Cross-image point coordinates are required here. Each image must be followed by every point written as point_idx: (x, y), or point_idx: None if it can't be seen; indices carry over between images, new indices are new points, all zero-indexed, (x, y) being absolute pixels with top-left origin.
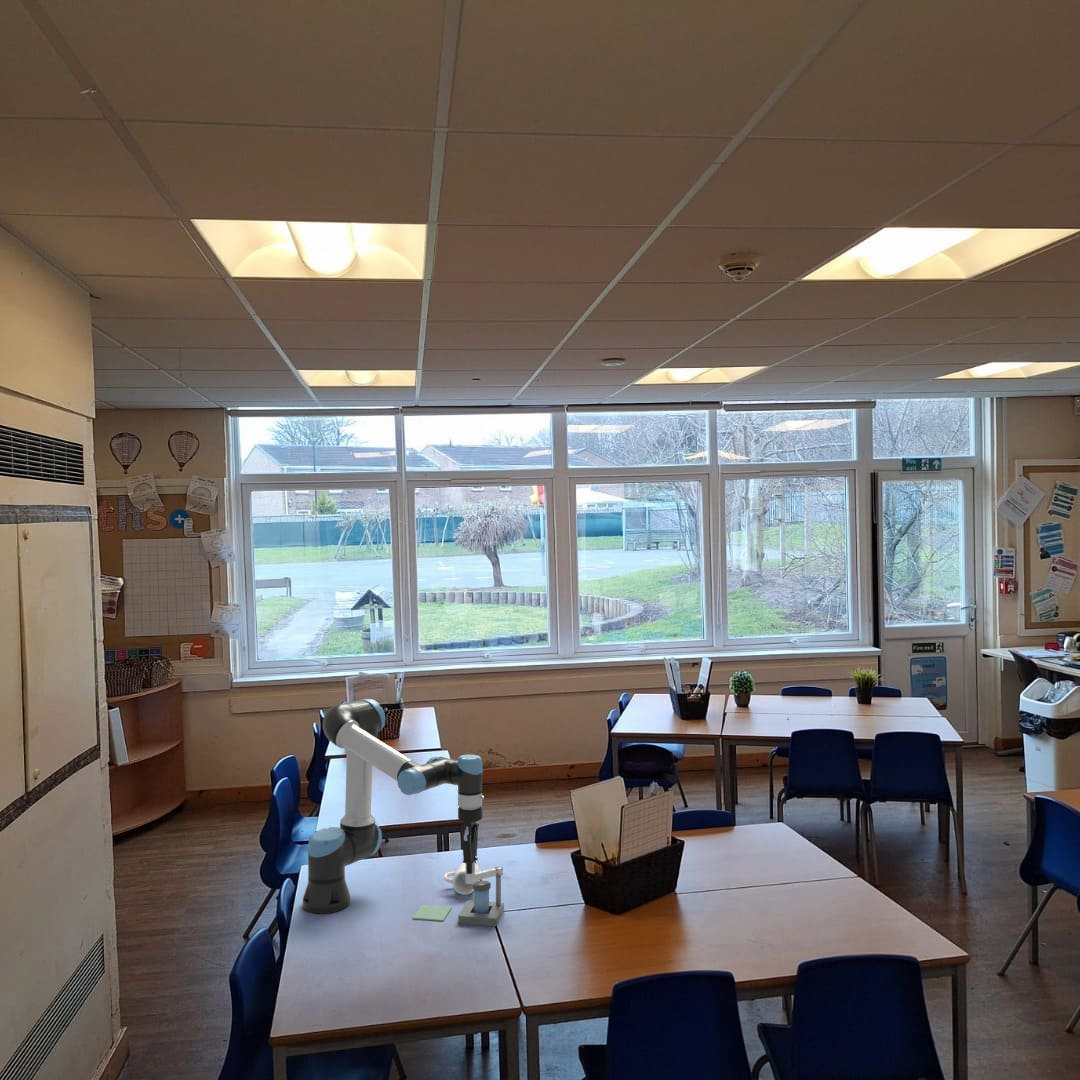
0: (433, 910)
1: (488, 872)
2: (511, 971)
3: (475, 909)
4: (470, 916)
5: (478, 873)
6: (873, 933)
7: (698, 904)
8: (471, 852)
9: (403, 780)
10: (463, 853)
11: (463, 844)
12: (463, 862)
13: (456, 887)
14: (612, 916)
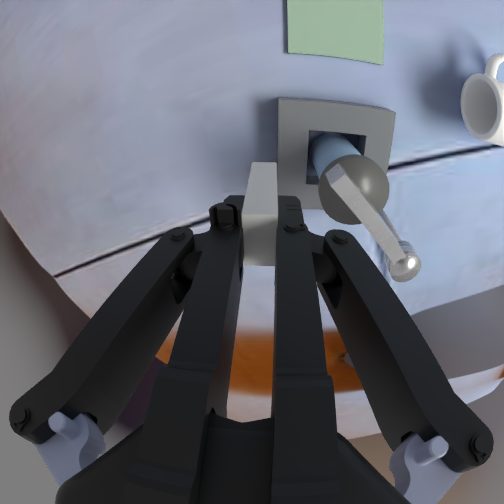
0: (350, 16)
1: (376, 239)
2: (104, 257)
3: (320, 146)
4: (279, 137)
5: (355, 207)
6: None
7: (360, 397)
8: (162, 330)
9: None
10: (124, 283)
11: (72, 355)
12: (215, 209)
13: (474, 81)
14: (335, 354)
